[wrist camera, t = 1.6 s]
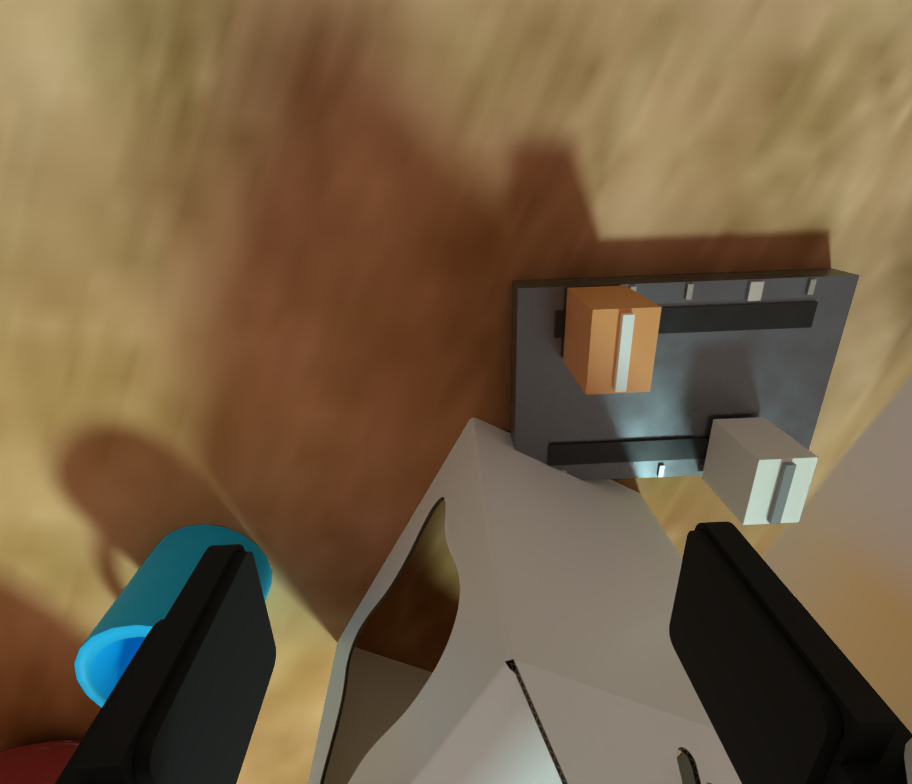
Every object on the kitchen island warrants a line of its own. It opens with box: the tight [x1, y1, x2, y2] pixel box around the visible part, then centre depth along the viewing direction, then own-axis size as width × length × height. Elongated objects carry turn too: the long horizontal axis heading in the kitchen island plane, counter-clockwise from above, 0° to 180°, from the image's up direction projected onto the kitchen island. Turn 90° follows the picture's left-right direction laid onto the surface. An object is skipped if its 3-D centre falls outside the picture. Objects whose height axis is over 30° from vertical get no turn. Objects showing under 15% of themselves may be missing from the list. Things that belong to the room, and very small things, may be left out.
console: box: [510, 269, 859, 481], centre depth 29 cm, size 12×18×2 cm, turn 92°
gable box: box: [308, 417, 742, 784], centre depth 24 cm, size 22×13×28 cm, turn 152°
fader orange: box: [563, 286, 662, 395], centre depth 24 cm, size 4×3×5 cm
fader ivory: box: [702, 417, 818, 525], centre depth 28 cm, size 4×3×5 cm
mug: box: [74, 524, 272, 708], centre depth 32 cm, size 12×8×8 cm
